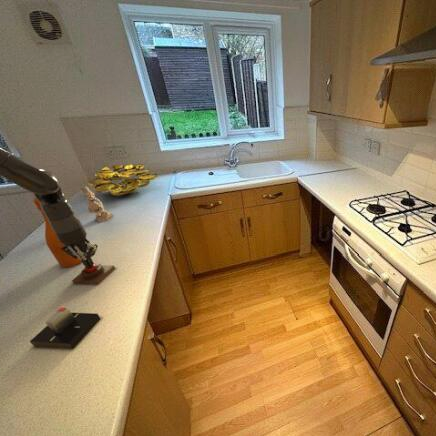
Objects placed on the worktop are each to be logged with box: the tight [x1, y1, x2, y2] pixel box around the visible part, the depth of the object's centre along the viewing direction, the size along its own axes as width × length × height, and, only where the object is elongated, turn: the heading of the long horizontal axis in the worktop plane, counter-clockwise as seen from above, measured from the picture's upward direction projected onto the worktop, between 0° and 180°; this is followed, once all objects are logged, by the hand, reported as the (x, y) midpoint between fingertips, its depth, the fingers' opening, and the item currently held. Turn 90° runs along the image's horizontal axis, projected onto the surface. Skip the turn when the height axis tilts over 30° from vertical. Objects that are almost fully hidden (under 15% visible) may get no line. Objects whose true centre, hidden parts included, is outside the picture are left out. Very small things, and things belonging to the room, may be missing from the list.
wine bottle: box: [32, 197, 83, 268], centre depth 96 cm, size 10×10×30 cm
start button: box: [83, 263, 97, 273], centre depth 92 cm, size 4×4×2 cm
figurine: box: [81, 186, 113, 223], centre depth 132 cm, size 9×8×20 cm
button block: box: [71, 263, 116, 285], centre depth 93 cm, size 10×9×4 cm
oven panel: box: [29, 312, 101, 350], centre depth 71 cm, size 12×10×3 cm
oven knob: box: [44, 307, 75, 334], centre depth 69 cm, size 5×2×5 cm, turn 175°
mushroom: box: [86, 163, 158, 196], centre depth 170 cm, size 41×45×17 cm
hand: (89, 266), depth 91 cm, fingers closed
